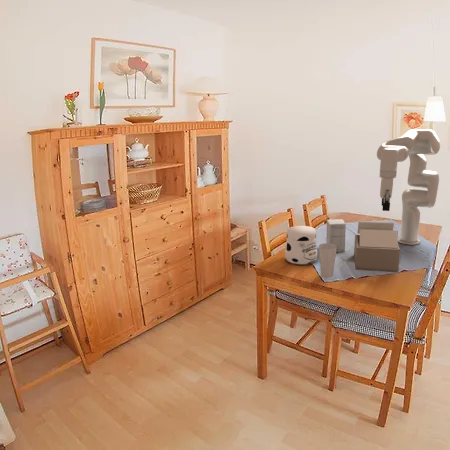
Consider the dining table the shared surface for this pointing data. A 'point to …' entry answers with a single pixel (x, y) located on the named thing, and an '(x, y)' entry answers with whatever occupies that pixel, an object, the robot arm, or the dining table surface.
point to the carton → (376, 257)
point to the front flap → (379, 238)
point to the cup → (327, 259)
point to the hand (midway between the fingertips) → (385, 208)
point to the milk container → (301, 245)
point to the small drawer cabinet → (336, 233)
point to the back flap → (375, 226)
